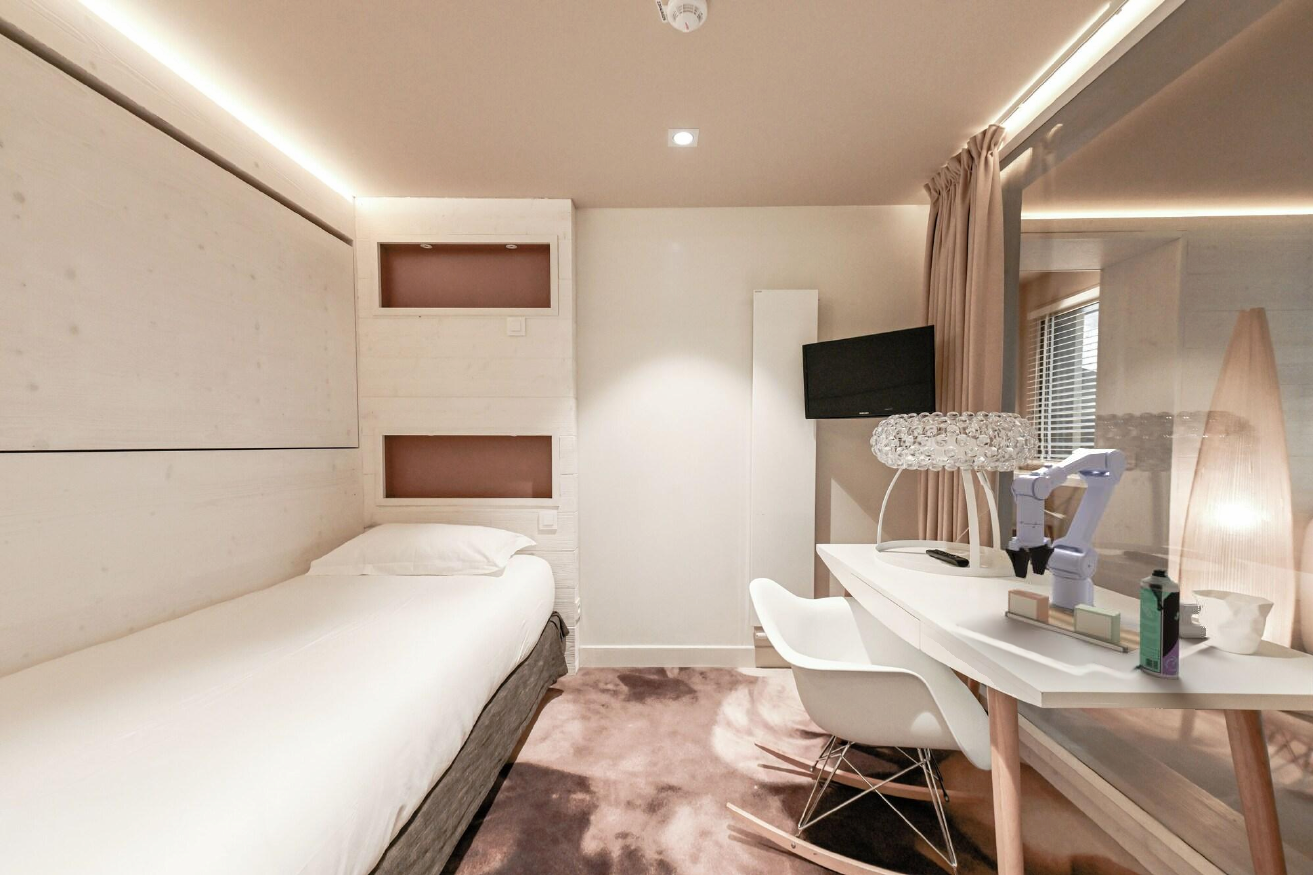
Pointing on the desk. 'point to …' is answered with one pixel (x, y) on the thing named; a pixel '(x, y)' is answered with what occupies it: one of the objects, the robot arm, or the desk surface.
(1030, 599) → the clay carton
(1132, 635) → the shelf board
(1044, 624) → the rail
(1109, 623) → the sage carton
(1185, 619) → the stamp
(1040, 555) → the robot arm
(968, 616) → the desk surface
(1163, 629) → the spray can
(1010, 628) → the desk surface
